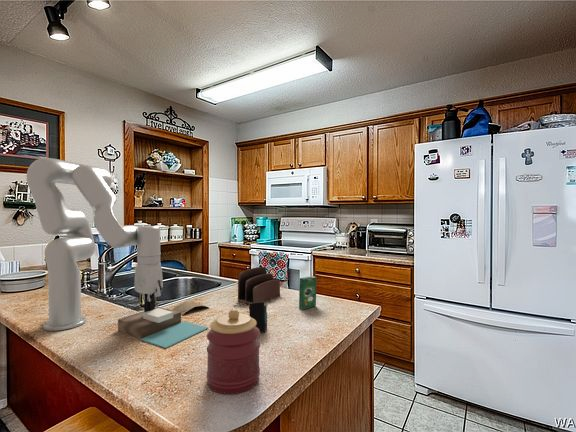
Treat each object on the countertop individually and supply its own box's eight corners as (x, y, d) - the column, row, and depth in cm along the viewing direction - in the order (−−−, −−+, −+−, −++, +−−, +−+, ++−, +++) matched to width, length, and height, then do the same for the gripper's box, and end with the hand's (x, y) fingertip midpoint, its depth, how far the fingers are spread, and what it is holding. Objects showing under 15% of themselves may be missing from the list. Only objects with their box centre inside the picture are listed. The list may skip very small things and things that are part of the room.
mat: (140, 340, 98) (140, 339, 98) (184, 322, 114) (184, 321, 114) (165, 348, 93) (165, 347, 93) (208, 328, 108) (208, 327, 108)
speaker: (266, 334, 103) (265, 302, 104) (249, 334, 103) (248, 303, 104) (268, 327, 111) (267, 298, 112) (252, 328, 111) (251, 299, 112)
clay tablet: (181, 317, 121) (181, 310, 121) (168, 312, 127) (168, 305, 127) (211, 308, 132) (211, 302, 132) (198, 303, 138) (198, 298, 138)
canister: (195, 388, 72) (195, 314, 72) (225, 362, 85) (225, 299, 84) (243, 400, 68) (244, 322, 67) (268, 371, 80) (268, 304, 80)
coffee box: (312, 304, 136) (312, 275, 136) (316, 306, 134) (317, 276, 134) (298, 308, 131) (298, 277, 131) (303, 310, 129) (303, 279, 129)
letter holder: (237, 301, 141) (237, 271, 140) (264, 292, 157) (265, 264, 157) (253, 305, 135) (253, 273, 135) (280, 295, 151) (280, 267, 151)
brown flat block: (118, 330, 106) (117, 319, 106) (157, 316, 120) (157, 306, 120) (142, 338, 100) (142, 326, 99) (181, 322, 114) (181, 312, 113)
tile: (143, 318, 107) (143, 312, 107) (158, 313, 112) (158, 308, 112) (158, 323, 103) (158, 317, 103) (173, 317, 108) (173, 312, 108)
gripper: (126, 260, 110) (126, 310, 110) (153, 263, 103) (154, 318, 103) (144, 257, 117) (145, 305, 117) (172, 260, 109) (172, 311, 110)
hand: (149, 311), depth 110 cm, fingers closed
